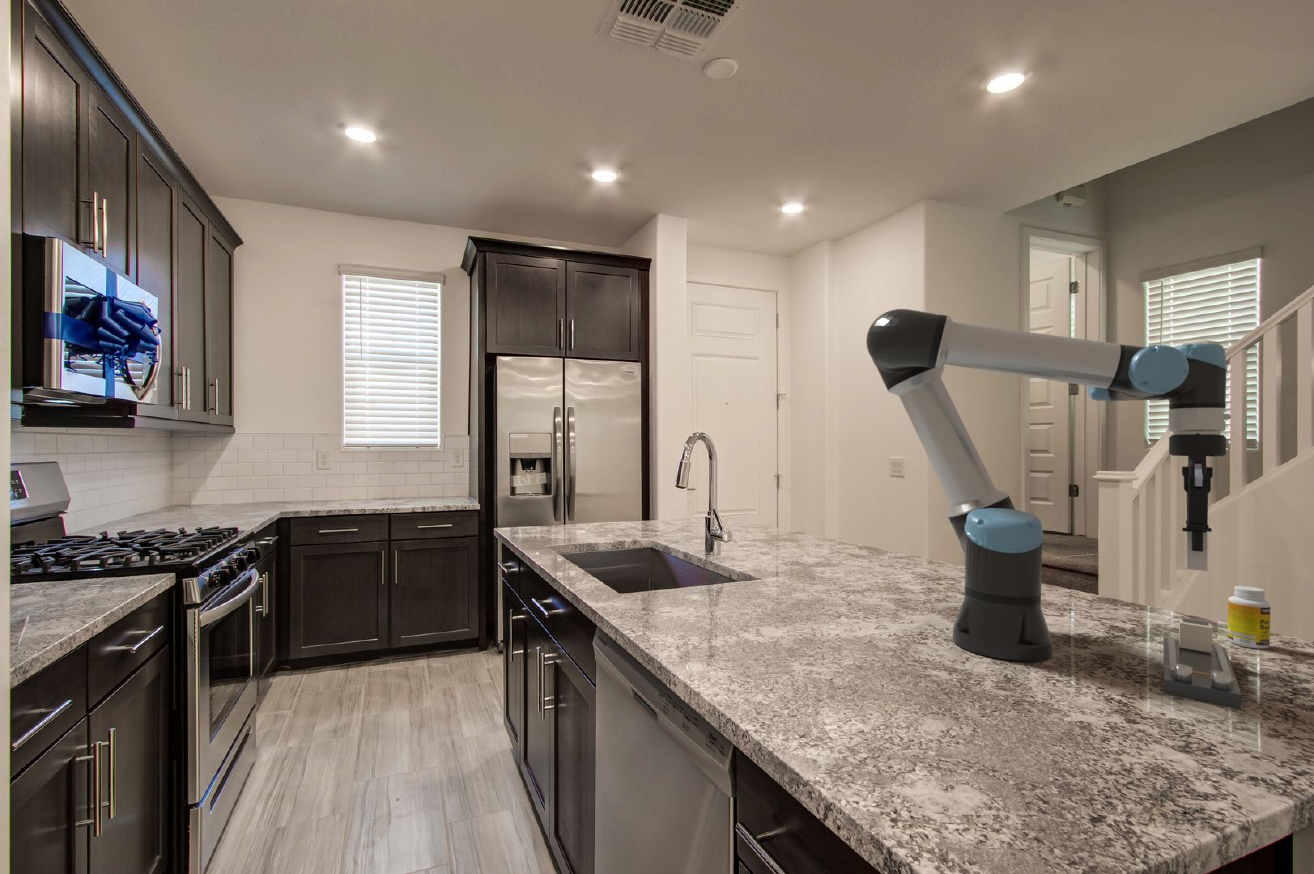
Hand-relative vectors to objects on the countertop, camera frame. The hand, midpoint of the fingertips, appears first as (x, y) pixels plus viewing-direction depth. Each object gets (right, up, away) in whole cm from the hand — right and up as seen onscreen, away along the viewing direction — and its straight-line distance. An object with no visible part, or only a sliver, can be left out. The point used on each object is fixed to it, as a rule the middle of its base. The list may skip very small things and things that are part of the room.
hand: (1196, 569), depth 108 cm
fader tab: (-5, -12, -5) cm, 14 cm away
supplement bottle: (+13, -15, +4) cm, 20 cm away
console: (-10, -14, -12) cm, 21 cm away
